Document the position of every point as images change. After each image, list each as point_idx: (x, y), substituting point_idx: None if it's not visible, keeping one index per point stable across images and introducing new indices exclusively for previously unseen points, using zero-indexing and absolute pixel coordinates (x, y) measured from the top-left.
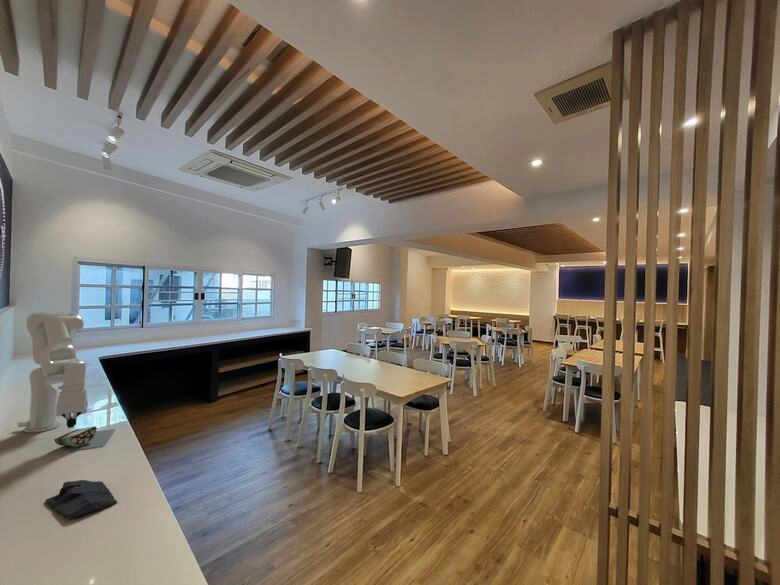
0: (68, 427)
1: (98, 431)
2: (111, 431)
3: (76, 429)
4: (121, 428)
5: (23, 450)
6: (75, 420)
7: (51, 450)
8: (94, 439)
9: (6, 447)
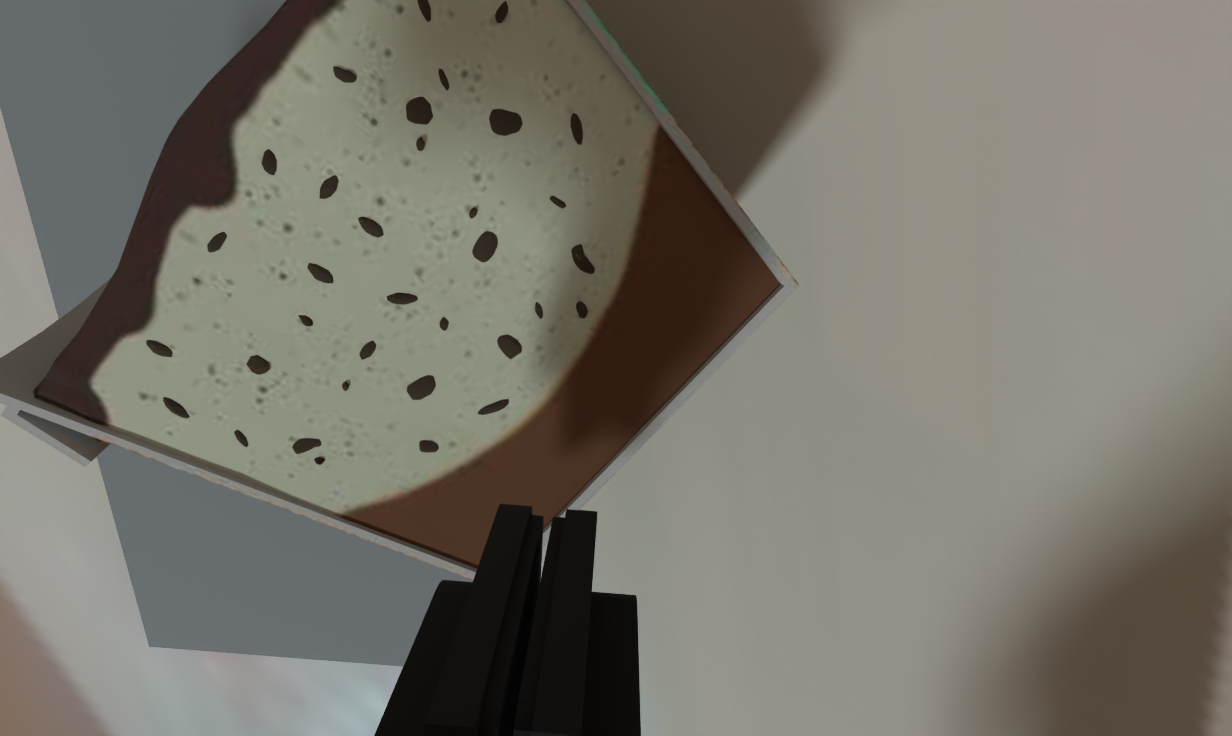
0: (582, 513)
1: (333, 644)
2: (155, 571)
3: None
4: (95, 644)
5: (1088, 406)
6: (396, 698)
7: (770, 199)
8: None
9: (1229, 607)
